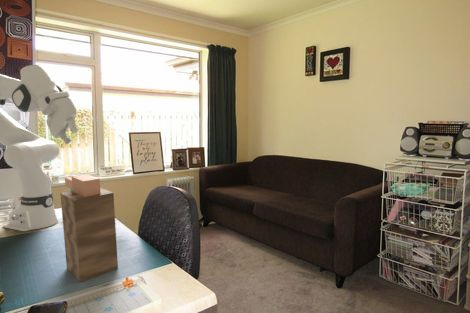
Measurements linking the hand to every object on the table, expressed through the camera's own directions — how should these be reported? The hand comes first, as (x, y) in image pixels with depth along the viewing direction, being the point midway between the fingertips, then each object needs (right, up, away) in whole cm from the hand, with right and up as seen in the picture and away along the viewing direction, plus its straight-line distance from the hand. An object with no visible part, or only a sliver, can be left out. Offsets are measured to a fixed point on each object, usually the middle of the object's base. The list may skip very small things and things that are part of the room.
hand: (72, 137), depth 112 cm
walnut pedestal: (+11, -44, -9) cm, 47 cm away
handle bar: (+7, -18, -9) cm, 21 cm away
